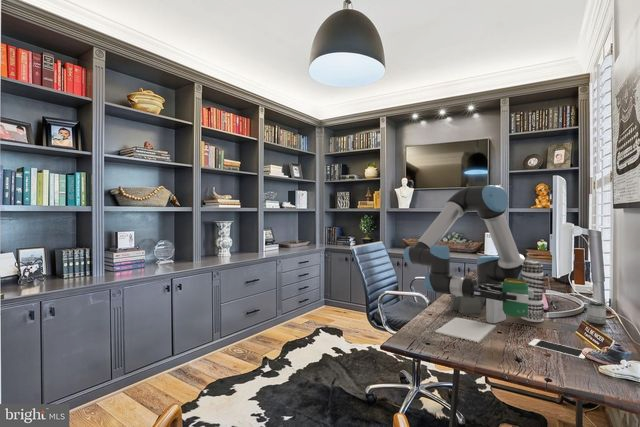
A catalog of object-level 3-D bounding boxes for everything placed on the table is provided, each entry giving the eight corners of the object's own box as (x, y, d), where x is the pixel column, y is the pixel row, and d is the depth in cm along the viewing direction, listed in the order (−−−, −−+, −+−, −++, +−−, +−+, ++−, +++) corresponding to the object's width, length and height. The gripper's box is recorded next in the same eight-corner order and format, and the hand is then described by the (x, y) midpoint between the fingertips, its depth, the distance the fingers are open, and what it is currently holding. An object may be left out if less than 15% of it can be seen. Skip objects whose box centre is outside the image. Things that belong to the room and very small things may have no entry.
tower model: (545, 323, 144) (546, 263, 143) (520, 320, 148) (520, 262, 148) (544, 317, 152) (544, 260, 151) (519, 314, 156) (519, 259, 156)
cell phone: (534, 339, 128) (534, 338, 128) (588, 353, 116) (589, 351, 116) (527, 345, 122) (527, 344, 122) (583, 360, 111) (583, 358, 111)
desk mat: (456, 318, 151) (456, 317, 151) (495, 326, 141) (495, 325, 141) (434, 332, 135) (434, 331, 135) (478, 343, 124) (478, 341, 124)
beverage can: (522, 311, 127) (522, 278, 127) (531, 318, 119) (531, 283, 119) (499, 310, 129) (499, 278, 129) (506, 316, 121) (506, 282, 121)
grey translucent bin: (483, 309, 165) (483, 287, 165) (489, 315, 156) (489, 291, 156) (448, 307, 168) (447, 285, 167) (451, 313, 159) (451, 290, 159)
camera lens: (608, 322, 145) (609, 304, 144) (601, 325, 142) (601, 306, 141) (591, 318, 150) (591, 300, 150) (583, 320, 147) (583, 302, 147)
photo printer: (497, 317, 152) (497, 289, 152) (507, 320, 149) (507, 291, 149) (484, 321, 147) (484, 292, 147) (494, 324, 143) (494, 295, 143)
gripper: (473, 291, 144) (536, 301, 128) (454, 302, 128) (524, 314, 113) (473, 273, 144) (536, 280, 128) (454, 282, 128) (524, 291, 113)
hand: (530, 296), depth 121 cm, fingers closed on beverage can, 8 cm apart
